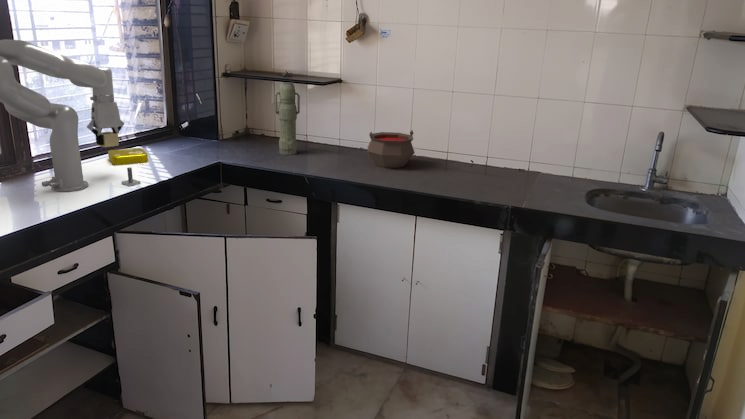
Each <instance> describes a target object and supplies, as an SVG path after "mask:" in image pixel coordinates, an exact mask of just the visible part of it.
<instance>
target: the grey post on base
mask: <svg viewBox="0 0 745 419" xmlns="http://www.w3.org/2000/svg"><path fill="white" fill-rule="evenodd" d="M132 168H133V167H127V168H126V170H127V180H121V185H123V186H127V187H132V186H133V187H134V186H136V185H140V184H141V181H140V180H137V179H134V178H133V170H132Z"/></svg>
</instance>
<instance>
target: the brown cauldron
mask: <svg viewBox="0 0 745 419" xmlns="http://www.w3.org/2000/svg"><path fill="white" fill-rule="evenodd" d="M413 135H414V131H413V130H412V129H411V130H410V131H409V134H408V133H407V134H406V133H403V132H392V131H391V132H388V131H387V132H385V131H380V132H375V133H373V132H372V131H370V132H369V134H368V136H369V138H370V141H369V143H368V146H367V153H368V154H369V156H370V158H371V159H372V161H373V163H375V165H376V166H378V167H381V168H385V169H387V168H389V169H390V168H391V169H399V168H402V167H405V166H406V165H407V163H408V162H409V161H410V159H411V158H412V157H413V156H414V155H415V154H416V153H415V149H414V147H413V143H412V141H413V140H414V136H413Z"/></svg>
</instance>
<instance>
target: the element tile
mask: <svg viewBox="0 0 745 419" xmlns="http://www.w3.org/2000/svg"><path fill="white" fill-rule="evenodd" d="M107 154H108V160H109V162H110V163H111V165H113V166H125V165H126V166H127V165H135V164H136V165H137V164H138V163H139V164H147V163H149V157H148V152H146V150H144V149H143V148H142V147H135V148H122V149H121V148H120V149H110V150H108V151H107Z"/></svg>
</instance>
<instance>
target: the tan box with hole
mask: <svg viewBox="0 0 745 419" xmlns="http://www.w3.org/2000/svg"><path fill="white" fill-rule="evenodd" d="M101 135H102V141H103V145H98V144H97V142H96V141H95V142H96V146H99V147H102V148H111V147H118V146H120V143H119V142H120V141H119V133H114V132H113V131H101Z"/></svg>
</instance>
